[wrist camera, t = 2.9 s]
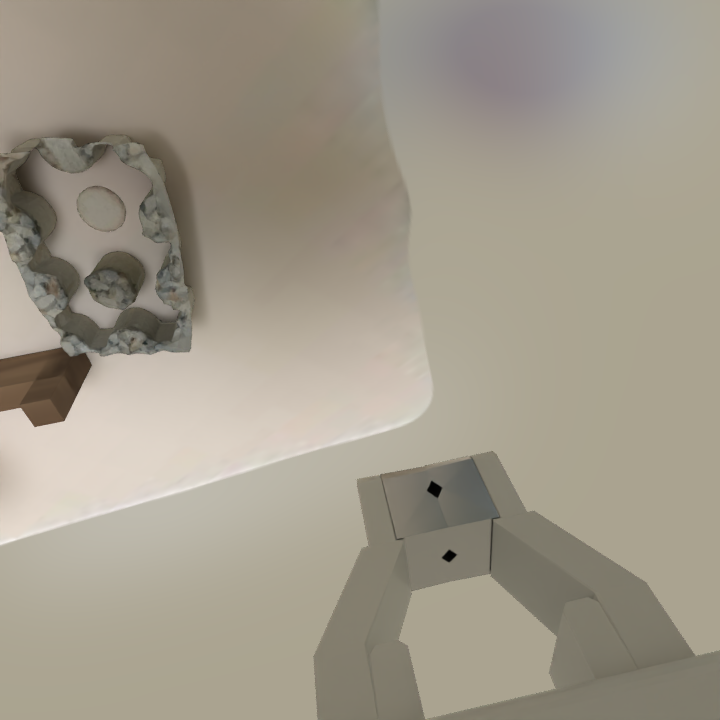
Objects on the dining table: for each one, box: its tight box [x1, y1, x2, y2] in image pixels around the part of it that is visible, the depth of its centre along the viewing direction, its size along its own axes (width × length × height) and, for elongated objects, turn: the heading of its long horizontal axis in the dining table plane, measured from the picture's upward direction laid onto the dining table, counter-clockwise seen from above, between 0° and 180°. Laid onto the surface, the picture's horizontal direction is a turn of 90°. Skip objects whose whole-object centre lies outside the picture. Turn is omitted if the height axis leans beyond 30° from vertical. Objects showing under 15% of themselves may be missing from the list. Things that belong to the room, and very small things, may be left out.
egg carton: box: [0, 135, 195, 357], centre depth 24 cm, size 11×8×4 cm
